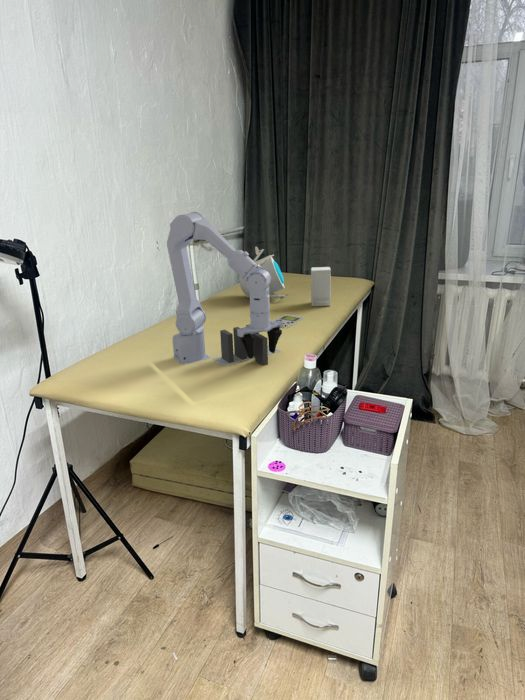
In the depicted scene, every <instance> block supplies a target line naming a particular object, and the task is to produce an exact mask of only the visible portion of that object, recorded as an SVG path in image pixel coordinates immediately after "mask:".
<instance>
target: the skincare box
mask: <svg viewBox="0 0 525 700" xmlns="http://www.w3.org/2000/svg"><path fill="white" fill-rule="evenodd" d="M331 272H332V270H331V267H330V266H321V267H320V266H317V267H315V266H314V267H311V268H310V282H311V283H310V288H311V289H310V293H311V294H310V295H311V299H310V300H311V302H310V303H311V307H331V304H332V303H331V300H332V299H331V297H332V296H331V289H332V288H331V285H332V282H331V281H332V280H331V276H332V275H331V274H332V273H331Z"/></svg>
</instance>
